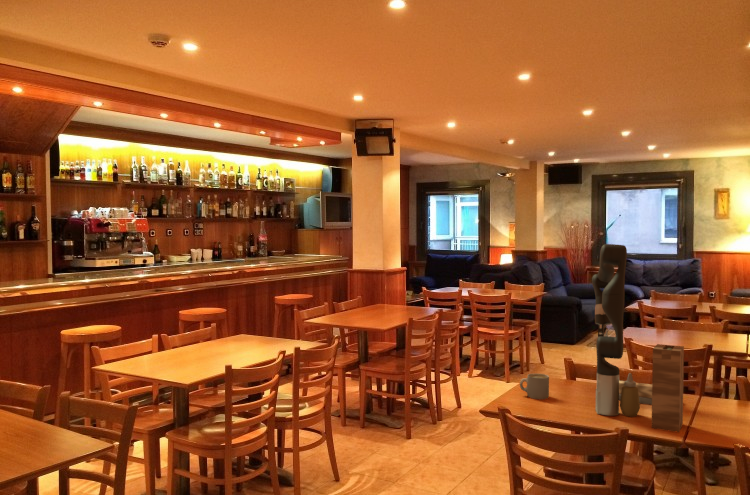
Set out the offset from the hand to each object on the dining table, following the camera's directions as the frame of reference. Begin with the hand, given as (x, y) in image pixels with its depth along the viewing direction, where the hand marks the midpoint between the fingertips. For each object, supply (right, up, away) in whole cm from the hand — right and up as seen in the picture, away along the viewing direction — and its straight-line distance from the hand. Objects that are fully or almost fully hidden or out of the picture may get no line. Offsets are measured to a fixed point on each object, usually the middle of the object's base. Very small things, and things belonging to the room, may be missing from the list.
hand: (603, 347), depth 305 cm
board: (+17, -23, -12) cm, 31 cm away
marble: (+10, +4, -47) cm, 48 cm away
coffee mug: (-34, -23, -3) cm, 41 cm away
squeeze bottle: (-1, -24, -34) cm, 41 cm away
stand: (+8, -24, -49) cm, 55 cm away
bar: (+14, -20, -11) cm, 27 cm away
